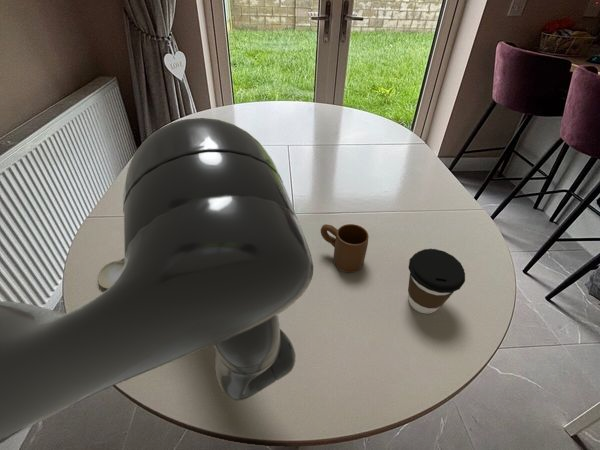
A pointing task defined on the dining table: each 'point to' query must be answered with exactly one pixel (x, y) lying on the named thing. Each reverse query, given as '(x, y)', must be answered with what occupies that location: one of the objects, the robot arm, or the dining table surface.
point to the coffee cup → (433, 279)
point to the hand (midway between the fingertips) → (186, 219)
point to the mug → (347, 245)
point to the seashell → (110, 273)
